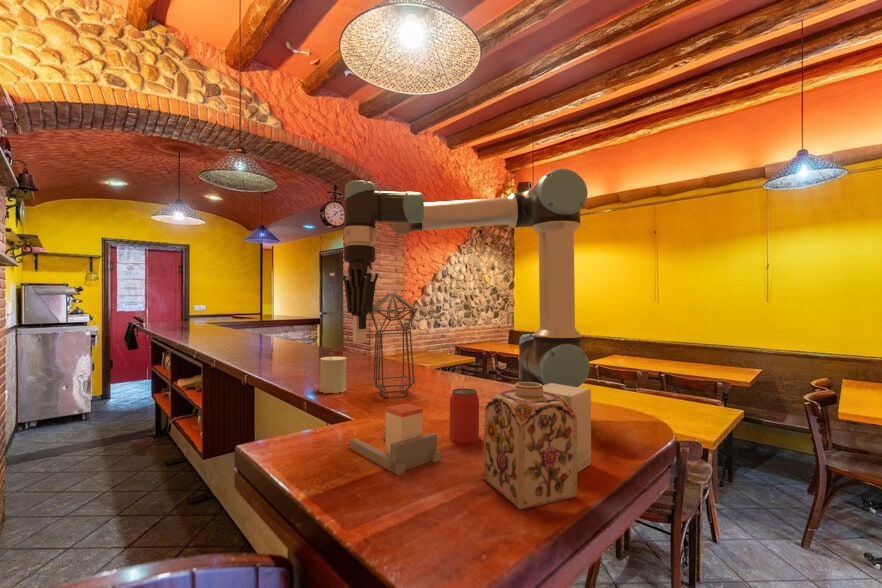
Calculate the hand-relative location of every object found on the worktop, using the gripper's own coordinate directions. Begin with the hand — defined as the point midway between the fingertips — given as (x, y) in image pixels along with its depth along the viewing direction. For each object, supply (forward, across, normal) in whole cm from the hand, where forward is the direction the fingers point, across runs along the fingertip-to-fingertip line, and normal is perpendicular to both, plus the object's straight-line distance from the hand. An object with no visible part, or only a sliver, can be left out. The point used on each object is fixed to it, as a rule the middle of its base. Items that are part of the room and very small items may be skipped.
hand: (359, 342), depth 96 cm
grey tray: (+22, +20, -4) cm, 30 cm away
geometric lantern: (+22, -27, +28) cm, 45 cm away
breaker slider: (+21, +23, -4) cm, 31 cm away
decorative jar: (+23, +44, +8) cm, 50 cm away
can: (+22, -45, +16) cm, 53 cm away
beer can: (+22, +22, +14) cm, 34 cm away
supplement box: (+23, +42, +21) cm, 52 cm away
